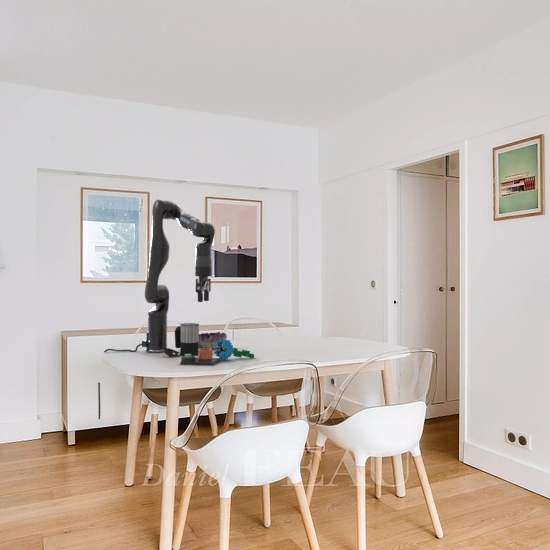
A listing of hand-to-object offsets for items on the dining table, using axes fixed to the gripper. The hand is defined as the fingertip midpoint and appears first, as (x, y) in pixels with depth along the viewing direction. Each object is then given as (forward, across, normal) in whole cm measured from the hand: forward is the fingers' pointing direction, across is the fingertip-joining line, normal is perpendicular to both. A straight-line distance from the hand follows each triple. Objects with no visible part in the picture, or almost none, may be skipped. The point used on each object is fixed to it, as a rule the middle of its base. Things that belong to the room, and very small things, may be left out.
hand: (203, 301), depth 244 cm
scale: (+26, +12, +3) cm, 29 cm away
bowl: (+25, +10, +4) cm, 27 cm away
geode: (+26, -33, -9) cm, 43 cm away
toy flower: (+26, -1, +15) cm, 30 cm away
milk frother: (+26, -7, -13) cm, 30 cm away
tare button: (+24, +16, -2) cm, 28 cm away
